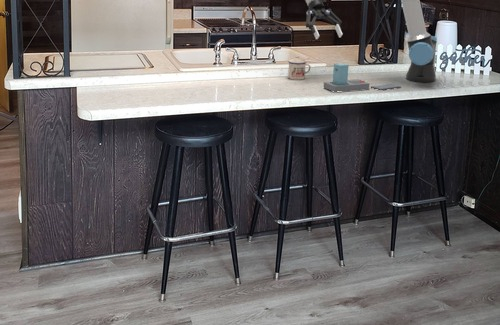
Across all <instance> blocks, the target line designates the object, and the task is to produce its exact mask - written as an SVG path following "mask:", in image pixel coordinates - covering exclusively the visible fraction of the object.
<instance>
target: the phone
mask: <svg viewBox="0 0 500 325" xmlns="http://www.w3.org/2000/svg"><path fill="white" fill-rule="evenodd" d="M370 87H371V88H370V89H372V88H374V89H373V90H375V89H378V90H377V91H379V90H383V91H388V90H387V89H390V90H395V89H394V88H397V89H402V86H400V85H396V84H392V83H389V84H387V83H386V84H380V85H374V86H370Z"/></svg>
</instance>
